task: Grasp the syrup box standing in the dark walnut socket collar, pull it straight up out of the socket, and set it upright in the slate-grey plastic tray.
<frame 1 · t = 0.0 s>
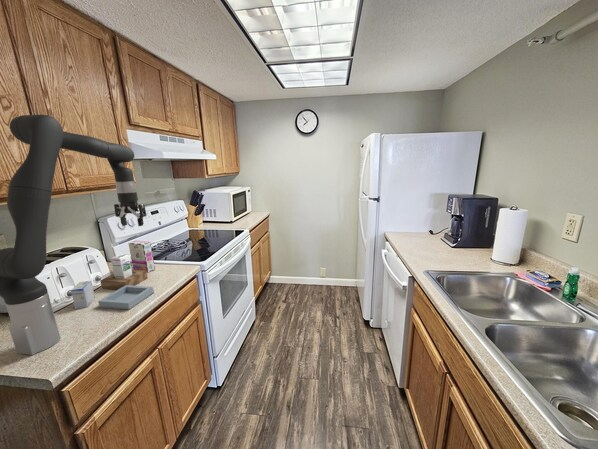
hand: (132, 225, 119), 29 cm above the counter, fingers open, 8 cm apart
socket collar: (125, 283, 126), on the counter
syrup box: (125, 283, 126), resting in socket collar
tray: (128, 299, 110), on the counter
medicine box: (85, 304, 108), on the counter
candy bar box: (144, 270, 141), on the counter
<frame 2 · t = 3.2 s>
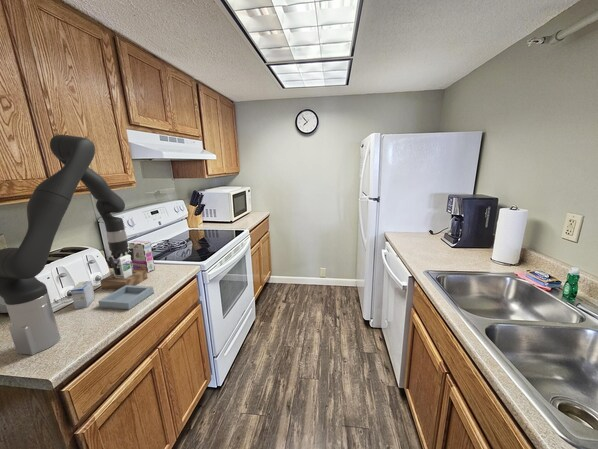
hand: (123, 272, 124), 6 cm above the counter, fingers closed on syrup box, 5 cm apart
syrup box: (126, 283, 126), resting in socket collar, touching gripper
everything else where it was.
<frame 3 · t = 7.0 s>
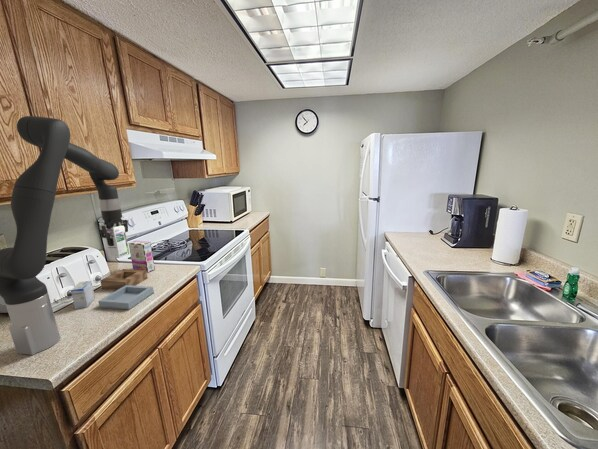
hand: (117, 243, 120), 21 cm above the counter, fingers closed on syrup box, 5 cm apart
syrup box: (119, 256, 121), point 15 cm above the counter, touching gripper
everything else where it was.
when the fingers open (8 cm above the counter, at t = 11.1 s): syrup box drops 2 cm, resting on tray.
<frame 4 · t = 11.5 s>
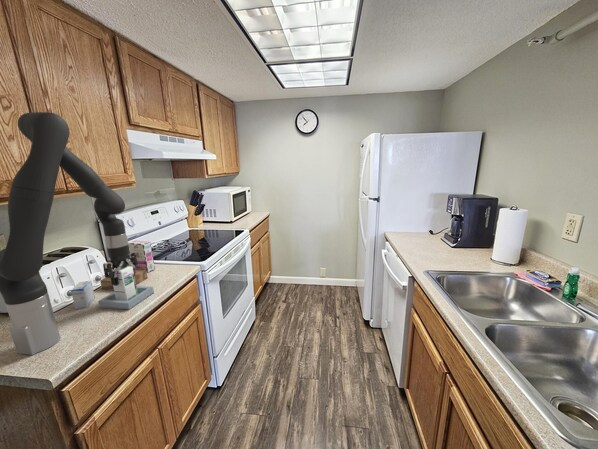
hand: (124, 280, 108), 9 cm above the counter, fingers open, 8 cm apart
syrup box: (127, 299, 110), resting on tray
everything else where it was.
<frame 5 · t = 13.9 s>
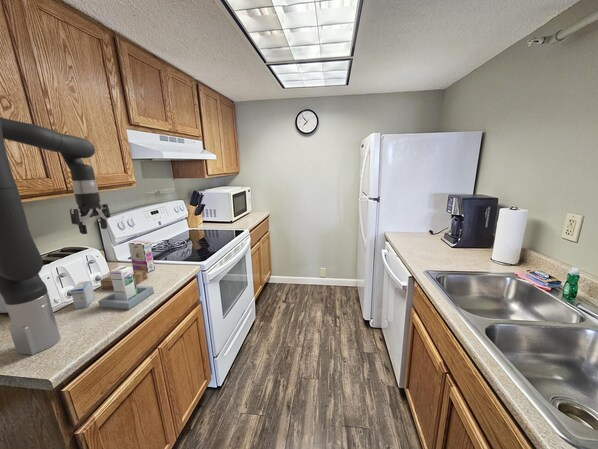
hand: (94, 231, 104), 31 cm above the counter, fingers open, 8 cm apart
nothing on the counter moved.
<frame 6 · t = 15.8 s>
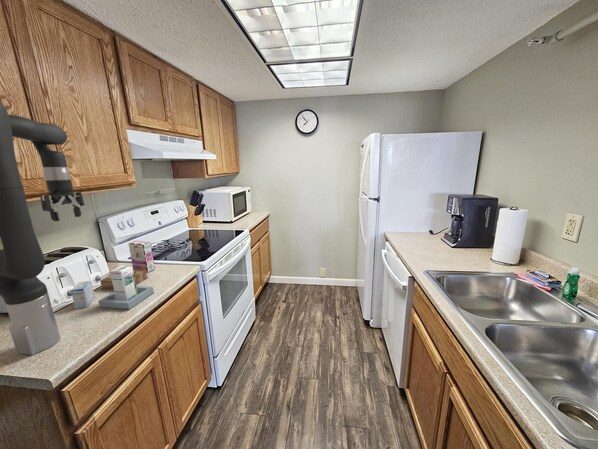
hand: (67, 218, 104), 36 cm above the counter, fingers open, 8 cm apart
nothing on the counter moved.
at the end: syrup box 0.3 cm off-centre on the tray, point 0.3 cm above the tray's base; syrup box tilted 0°; the gripper is holding nothing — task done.
